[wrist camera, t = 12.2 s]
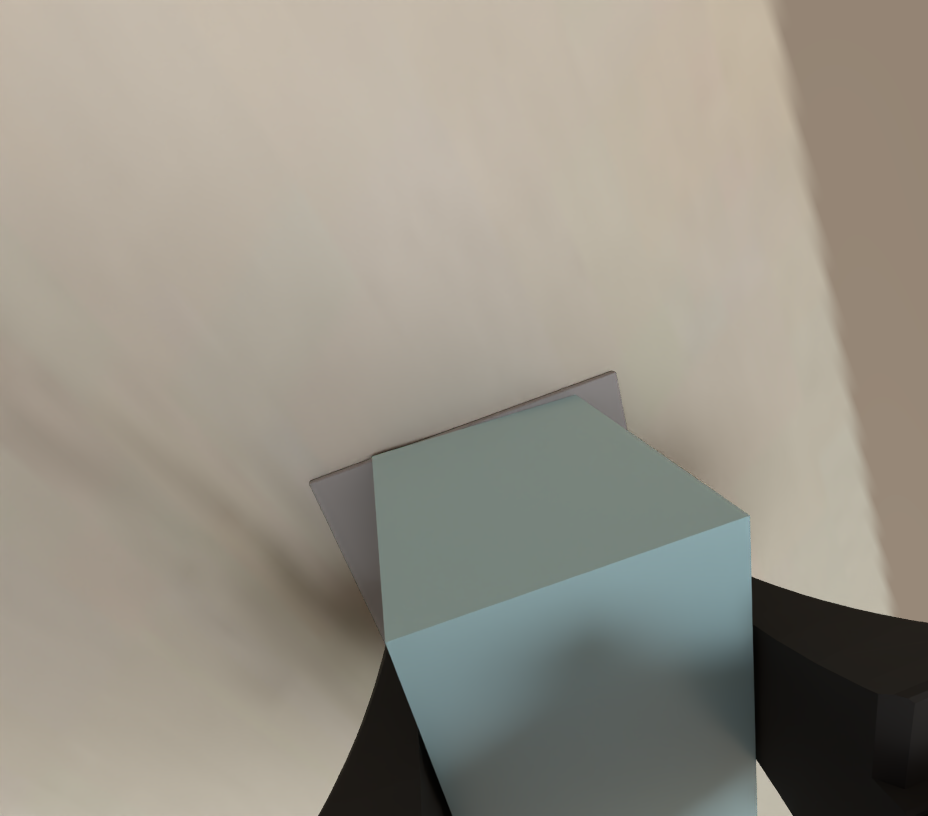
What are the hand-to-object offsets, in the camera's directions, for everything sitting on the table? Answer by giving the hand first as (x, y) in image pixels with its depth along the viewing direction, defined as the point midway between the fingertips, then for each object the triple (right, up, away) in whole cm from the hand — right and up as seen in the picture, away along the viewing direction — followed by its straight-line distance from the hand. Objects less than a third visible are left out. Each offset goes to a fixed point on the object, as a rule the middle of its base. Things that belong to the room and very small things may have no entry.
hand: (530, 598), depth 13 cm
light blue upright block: (0, +1, +2) cm, 2 cm away
